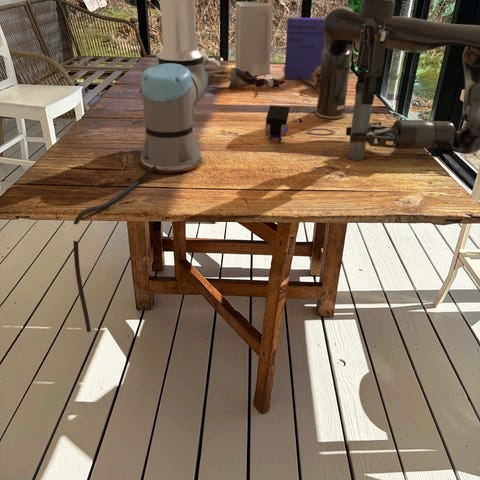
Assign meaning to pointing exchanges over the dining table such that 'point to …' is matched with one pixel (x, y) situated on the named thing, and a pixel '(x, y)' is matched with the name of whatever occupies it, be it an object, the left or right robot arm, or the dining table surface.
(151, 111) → the left robot arm
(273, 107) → the figurine character
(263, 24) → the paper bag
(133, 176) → the dining table surface
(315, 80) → the anatomical model
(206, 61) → the toy
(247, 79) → the figurine
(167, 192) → the dining table surface
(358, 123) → the grey cylinder
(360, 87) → the lid
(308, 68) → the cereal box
